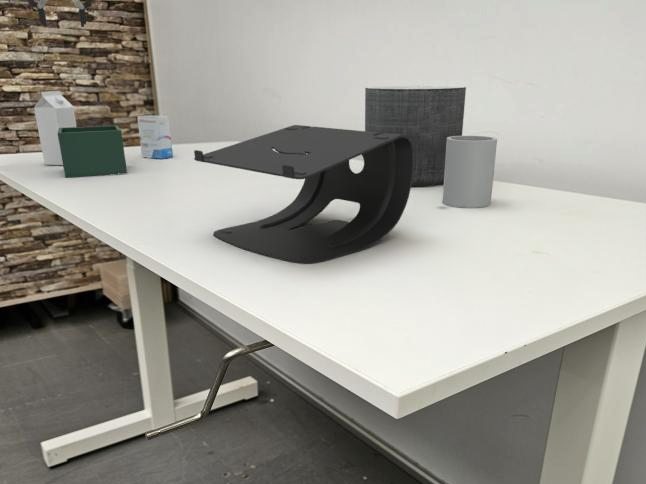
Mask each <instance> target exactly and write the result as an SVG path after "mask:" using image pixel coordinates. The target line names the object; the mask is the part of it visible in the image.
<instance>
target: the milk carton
mask: <svg viewBox="0 0 646 484" xmlns="http://www.w3.org/2000/svg"><path fill="white" fill-rule="evenodd" d="M40 93H41V96H40V98H39V100H38V101H37V103H36V104H35V106H34V107H33V111H34V115H35V116H34V117H35V120H36V126H37V132H38V136H39V137H38V138H39V141H40V142H39V143H40V148H41V153H42V157H43V163H44V165H47V166H63V162H62V156H61V150H60V145H59V139H58V130H59V128H69V127H78V126H77V121H76V114H75V109H74V108H75V107H74V105H73V104H71V103H70V102H69V101H68V100H67V99H66V98H65V97H64V96H63V95H62V91H61V90H51V91H40Z"/></svg>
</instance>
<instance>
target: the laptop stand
mask: <svg viewBox="0 0 646 484" xmlns="http://www.w3.org/2000/svg"><path fill="white" fill-rule="evenodd" d="M193 153H194V158H193V159H194V161H195V162H201V163H206V164H212V165H218V166H224V167H229V168H234V169H239V170H244V171H249V172H255V173H260V174H267V175H271V176H276V177H281V178H287V179H292V180H304V181H303V183H302V184H303V185H302V186H301V189H300V190H299V192H298V194H297V196H296V197H295V199H294V200H292V202H290V203H289V204H288V205H287V206H286V207H284V208H283V209H281V210H280V211H278V212H276V213H274V214H273V215H270V216H267V217H266V218H262V219H260V220H255V221H253V222H247V223H242V224H239V225H233V226H228V227H224V228H220V229H217V230H214V231H213V233H212V234H213V236H214V237H215V238H217V239H219V240H220V241H222V242H225V243H227V244H229V245H232V246H235V247H237V248H240V249H243V250H246V251H249V252H251V253H255V254H258V255H262V256H266V257H270V258H274V259H278V260H282V261H285V262H291V263H297V264H317V263H322V262H326V261H330V260H333V259H336V258H340V257H344V256H348V255H351V254H355V253H359V252H361V251H363V250H365V249H368V248H369V247H372V246H374V245H375V244H376V243H378V242H380V241H381V240H382V239H384V238H385V237H386V236H387V235H388V234H389V233H390V232H391V231H392V230H394V228H395V227H396V225H397V224H399V222H400V220H401V217H402V216H403V214H404V212H405V209H406V207H407V204H408V201H409V198H410V193H411V188H412V186H411V184H412V176H413V146H412V142H411V140H410V139H409V138H408V137H407V136H406V135H399V134H388V133H384V134H382V133H378V132H367V131H365V130H354V129H344V128H332V127H322V126H311V125H300V124H294V125H290V126H287V127H284V128H280V129H278V130H274V131H272V132H268V133H265V134H262V135H259V136H255V137H253V138H250V139H246V140H243V141H240V142H238V143H235V144H231V145H228V146H225V147H222V148H219V149H215V150H212V151H210V152H206V153H203V151H202V150H198V149H195V150H193ZM359 156H362V158H363V166H362V168H361V171H360V172H357V173H356V172H354V171H353V170H352V168H351V165H350V160H352V159H355V158H357V157H359ZM334 200H335V201H336V200H339V201H340V200H341V201H345V202H350V203H351V202H352V203H356V204H359V210H358V212H357V214H356V215H354V218H352V219H351V220H350V221H346V220H341V219H331V220H327V221H326V220H325V221H322V222H317V223H314V224H309V225H305V224H307V223H309V222H310V221H311V220H313V219H315V218H316V217H317V216H318V215H319V214H321V213H322V212H323V211H324V210H325V209H326V208H327V207H328V205H330V203H331V202H333V201H334ZM303 225H305V226H303Z"/></svg>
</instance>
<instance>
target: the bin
mask: <svg viewBox="0 0 646 484" xmlns="http://www.w3.org/2000/svg"><path fill="white" fill-rule="evenodd" d="M58 139H59V145H60V150H61V156H62V162H63V165H62V166H63V171H64V172H63V173H64V178H65V179H66V178H67V179H69V178H83V177H97V176H99V175H100V176H111V175H110V174H115V175H119V174H118V173H127V174H128V169H127V162H126V154H125V147H124V140H123V139H124V138H123V133H122V129H121V128H120V127H119V126H118V125H98V126H77V127H69V128H59V130H58Z"/></svg>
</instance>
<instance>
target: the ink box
mask: <svg viewBox="0 0 646 484" xmlns="http://www.w3.org/2000/svg"><path fill="white" fill-rule="evenodd" d="M136 118H137V127H138V133H139V142H140V151H141V152H140V153H141V158H144V157H147V158H146V159H156V158H157V159H158V160H164V159H169V158H174V155H173V153H174V152H173V144H172V135H171V134H172V133H171V124H170V116H168V115H138V116H137V117H136ZM157 159H156V160H157Z"/></svg>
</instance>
